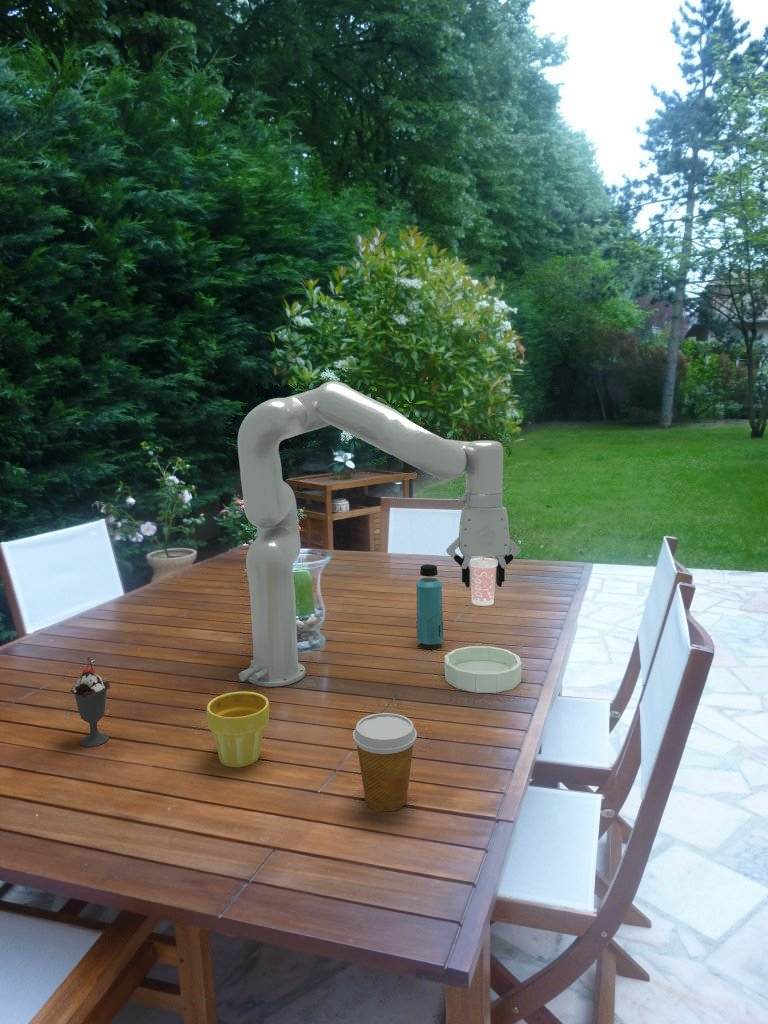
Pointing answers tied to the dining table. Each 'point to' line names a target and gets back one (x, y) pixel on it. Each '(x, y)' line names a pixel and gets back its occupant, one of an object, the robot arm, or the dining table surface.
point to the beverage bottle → (429, 607)
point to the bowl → (483, 669)
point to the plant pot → (238, 726)
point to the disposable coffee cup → (385, 759)
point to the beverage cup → (483, 580)
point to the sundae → (91, 704)
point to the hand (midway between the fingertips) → (483, 584)
